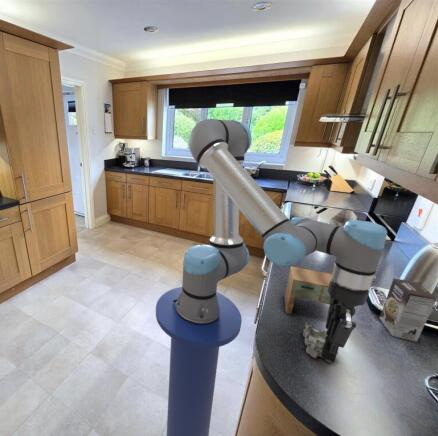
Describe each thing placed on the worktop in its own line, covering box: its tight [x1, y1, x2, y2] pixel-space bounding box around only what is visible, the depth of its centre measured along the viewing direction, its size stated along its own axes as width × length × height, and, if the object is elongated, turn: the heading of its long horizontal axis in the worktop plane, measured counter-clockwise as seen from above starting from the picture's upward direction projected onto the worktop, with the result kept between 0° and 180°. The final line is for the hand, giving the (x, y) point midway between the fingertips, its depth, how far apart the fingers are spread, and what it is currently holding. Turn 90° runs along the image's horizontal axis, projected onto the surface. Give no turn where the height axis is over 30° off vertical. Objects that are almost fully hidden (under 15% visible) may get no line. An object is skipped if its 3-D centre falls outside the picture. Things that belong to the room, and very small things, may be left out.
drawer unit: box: [283, 265, 332, 315], centre depth 85 cm, size 17×10×14 cm, turn 65°
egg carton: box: [302, 322, 339, 363], centre depth 72 cm, size 11×8×4 cm
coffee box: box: [379, 278, 437, 343], centre depth 77 cm, size 9×6×16 cm
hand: (327, 358), depth 66 cm, fingers closed
